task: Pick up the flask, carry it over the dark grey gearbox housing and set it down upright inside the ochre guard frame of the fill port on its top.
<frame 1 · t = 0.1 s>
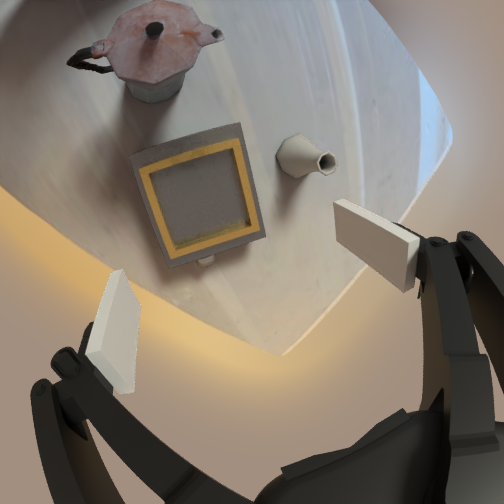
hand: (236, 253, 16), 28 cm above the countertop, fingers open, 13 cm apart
flask: (296, 155, 43), on the countertop
gearbox: (197, 189, 41), on the countertop
moka pot: (153, 78, 32), on the countertop
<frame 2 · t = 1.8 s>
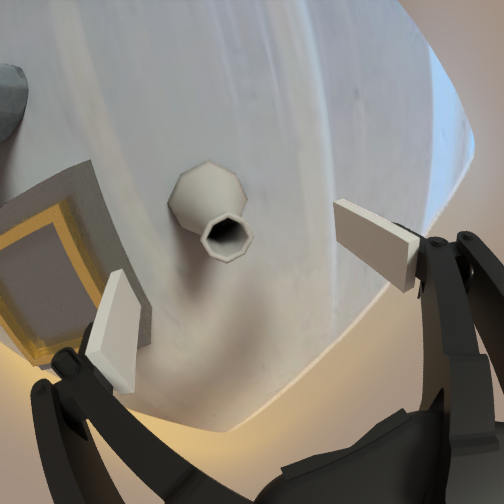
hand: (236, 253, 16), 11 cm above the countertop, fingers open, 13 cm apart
flask: (207, 199, 26), on the countertop
gearbox: (62, 263, 23), on the countertop
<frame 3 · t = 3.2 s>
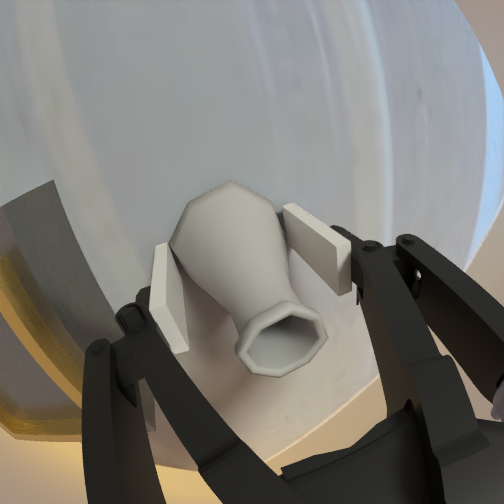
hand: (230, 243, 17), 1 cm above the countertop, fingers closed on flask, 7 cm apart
flask: (228, 237, 18), on the countertop, touching gripper
gearbox: (32, 318, 16), on the countertop
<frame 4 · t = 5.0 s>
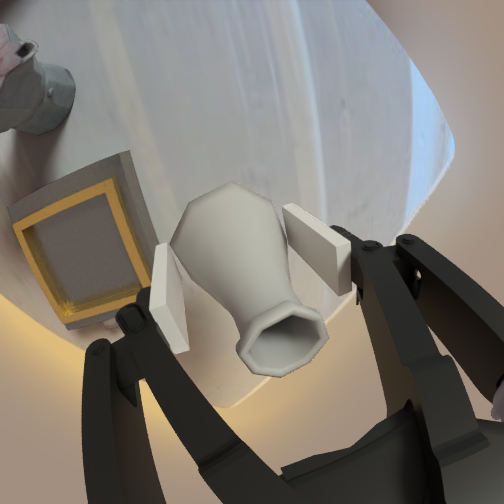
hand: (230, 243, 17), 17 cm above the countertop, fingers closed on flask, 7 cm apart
flask: (228, 237, 18), point 16 cm above the countertop, touching gripper
gearbox: (96, 235, 30), on the countertop
moka pot: (44, 102, 21), on the countertop
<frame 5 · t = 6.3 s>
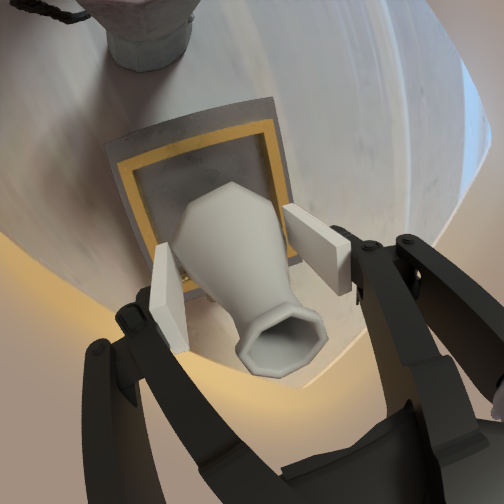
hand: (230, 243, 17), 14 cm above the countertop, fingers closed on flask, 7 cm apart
flask: (228, 238, 18), point 13 cm above the countertop, touching gripper
gearbox: (205, 193, 29), on the countertop
moka pot: (147, 40, 20), on the countertop
when the fingers open (8 cm above the countertop, at t = 7.4 s): flask drops 1 cm, resting on gearbox.
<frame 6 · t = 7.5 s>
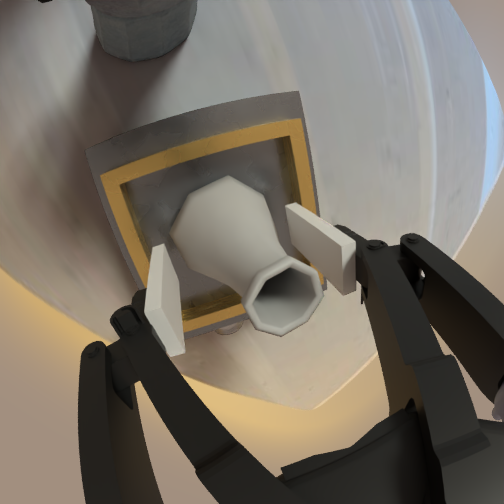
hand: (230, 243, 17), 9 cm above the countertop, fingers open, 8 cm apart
flask: (223, 229, 19), point 6 cm above the countertop, touching gearbox
gearbox: (212, 207, 24), on the countertop
moka pot: (142, 24, 16), on the countertop
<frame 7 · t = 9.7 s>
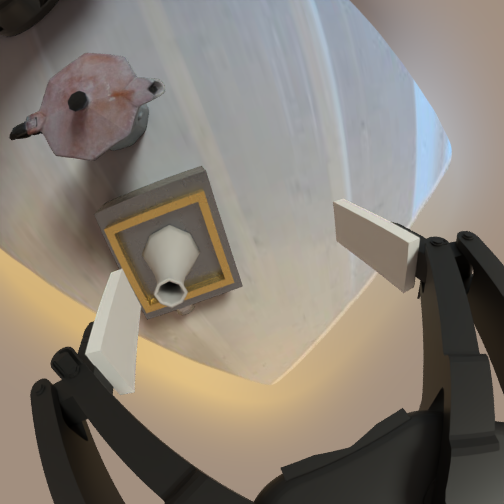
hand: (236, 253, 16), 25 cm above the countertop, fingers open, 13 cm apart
flask: (170, 251, 34), point 6 cm above the countertop, touching gearbox
gearbox: (171, 236, 39), on the countertop
moka pot: (116, 121, 31), on the countertop
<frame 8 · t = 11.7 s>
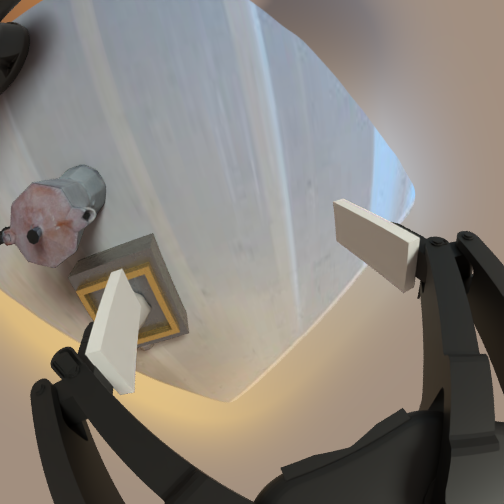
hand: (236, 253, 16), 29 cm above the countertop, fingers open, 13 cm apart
flask: (128, 307, 40), point 6 cm above the countertop, touching gearbox
gearbox: (132, 288, 45), on the countertop
moka pot: (80, 193, 36), on the countertop
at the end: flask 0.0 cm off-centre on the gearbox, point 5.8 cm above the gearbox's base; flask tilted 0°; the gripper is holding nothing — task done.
